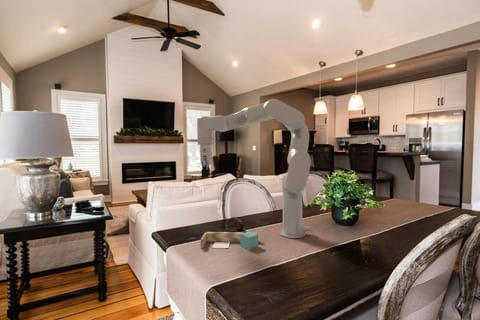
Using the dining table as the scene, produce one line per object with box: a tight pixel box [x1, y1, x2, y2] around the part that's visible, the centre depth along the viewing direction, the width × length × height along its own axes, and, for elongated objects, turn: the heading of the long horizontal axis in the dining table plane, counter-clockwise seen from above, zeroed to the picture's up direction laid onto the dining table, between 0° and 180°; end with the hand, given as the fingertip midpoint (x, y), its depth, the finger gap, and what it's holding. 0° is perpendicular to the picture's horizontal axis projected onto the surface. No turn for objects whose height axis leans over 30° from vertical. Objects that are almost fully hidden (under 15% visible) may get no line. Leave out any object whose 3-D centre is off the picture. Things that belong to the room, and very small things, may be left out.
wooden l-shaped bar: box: [200, 231, 259, 250], centre depth 123 cm, size 25×10×4 cm, turn 86°
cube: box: [239, 231, 259, 250], centre depth 121 cm, size 6×6×6 cm
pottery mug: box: [224, 216, 246, 233], centre depth 143 cm, size 12×10×8 cm
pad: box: [211, 241, 231, 249], centre depth 123 cm, size 7×7×1 cm
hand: (205, 176), depth 136 cm, fingers open, 9 cm apart
